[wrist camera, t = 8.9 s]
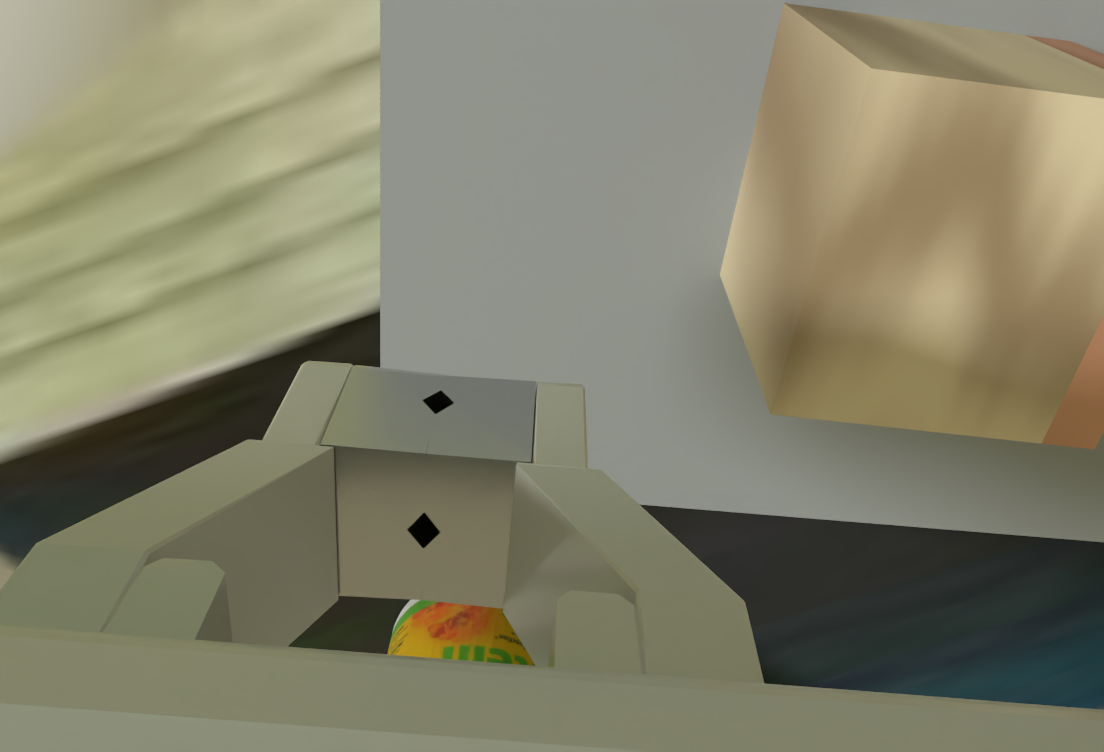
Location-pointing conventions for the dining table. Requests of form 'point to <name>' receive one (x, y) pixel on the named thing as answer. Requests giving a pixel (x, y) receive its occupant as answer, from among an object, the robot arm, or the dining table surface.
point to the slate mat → (654, 253)
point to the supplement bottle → (456, 633)
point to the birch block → (925, 229)
